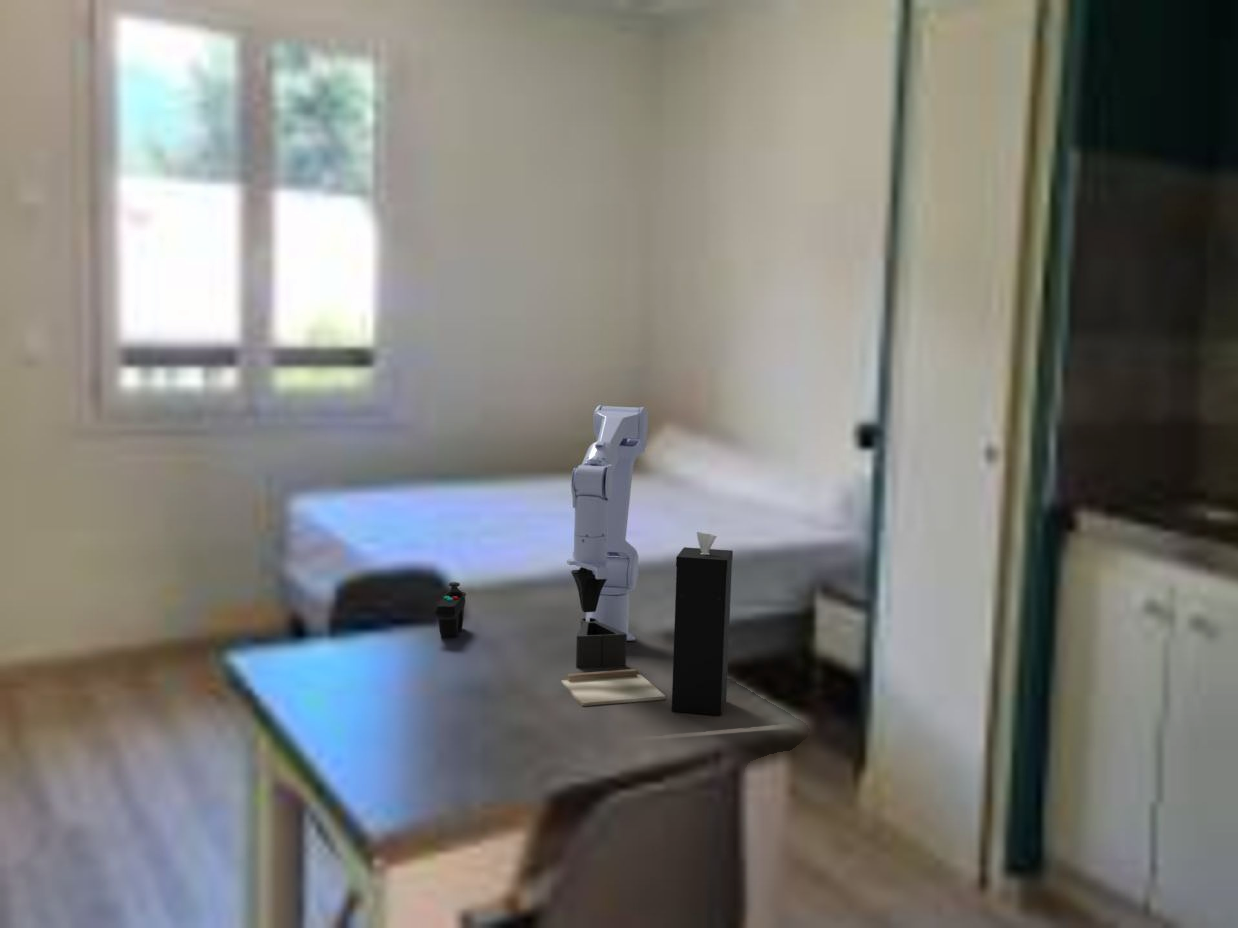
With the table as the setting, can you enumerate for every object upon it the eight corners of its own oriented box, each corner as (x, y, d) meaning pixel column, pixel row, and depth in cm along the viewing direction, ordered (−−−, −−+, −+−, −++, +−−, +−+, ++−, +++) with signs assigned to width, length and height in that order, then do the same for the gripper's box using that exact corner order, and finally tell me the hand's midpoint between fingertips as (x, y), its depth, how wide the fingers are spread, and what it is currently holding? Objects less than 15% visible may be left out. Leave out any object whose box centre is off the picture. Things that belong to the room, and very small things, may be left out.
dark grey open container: (626, 667, 206) (610, 648, 218) (627, 633, 205) (610, 616, 217) (576, 669, 204) (562, 650, 216) (576, 636, 203) (563, 618, 215)
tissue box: (721, 716, 182) (728, 538, 178) (670, 711, 184) (676, 535, 180) (726, 700, 190) (733, 530, 186) (678, 696, 191) (684, 526, 188)
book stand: (561, 682, 196) (561, 674, 196) (640, 677, 201) (640, 668, 201) (582, 706, 185) (582, 696, 185) (665, 699, 190) (665, 690, 189)
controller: (467, 631, 227) (468, 580, 226) (455, 649, 215) (456, 595, 213) (445, 630, 227) (445, 579, 226) (432, 648, 215) (432, 594, 213)
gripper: (557, 527, 209) (555, 602, 210) (580, 542, 195) (578, 622, 197) (595, 526, 211) (593, 600, 213) (620, 541, 197) (618, 620, 199)
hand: (588, 611), depth 205 cm, fingers closed
